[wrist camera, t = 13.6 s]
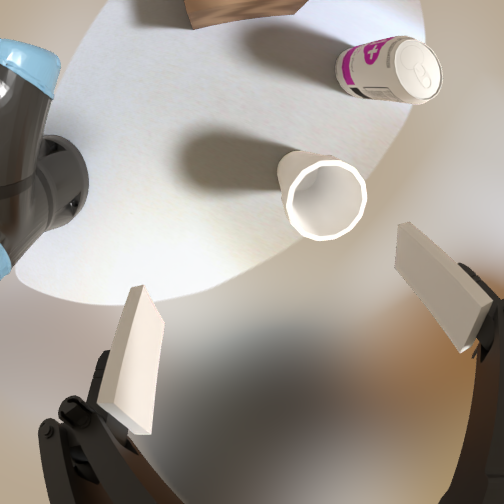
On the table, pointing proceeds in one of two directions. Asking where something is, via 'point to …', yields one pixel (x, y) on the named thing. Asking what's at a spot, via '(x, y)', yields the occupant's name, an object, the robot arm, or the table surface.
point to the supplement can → (390, 71)
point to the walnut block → (236, 10)
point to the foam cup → (320, 194)
